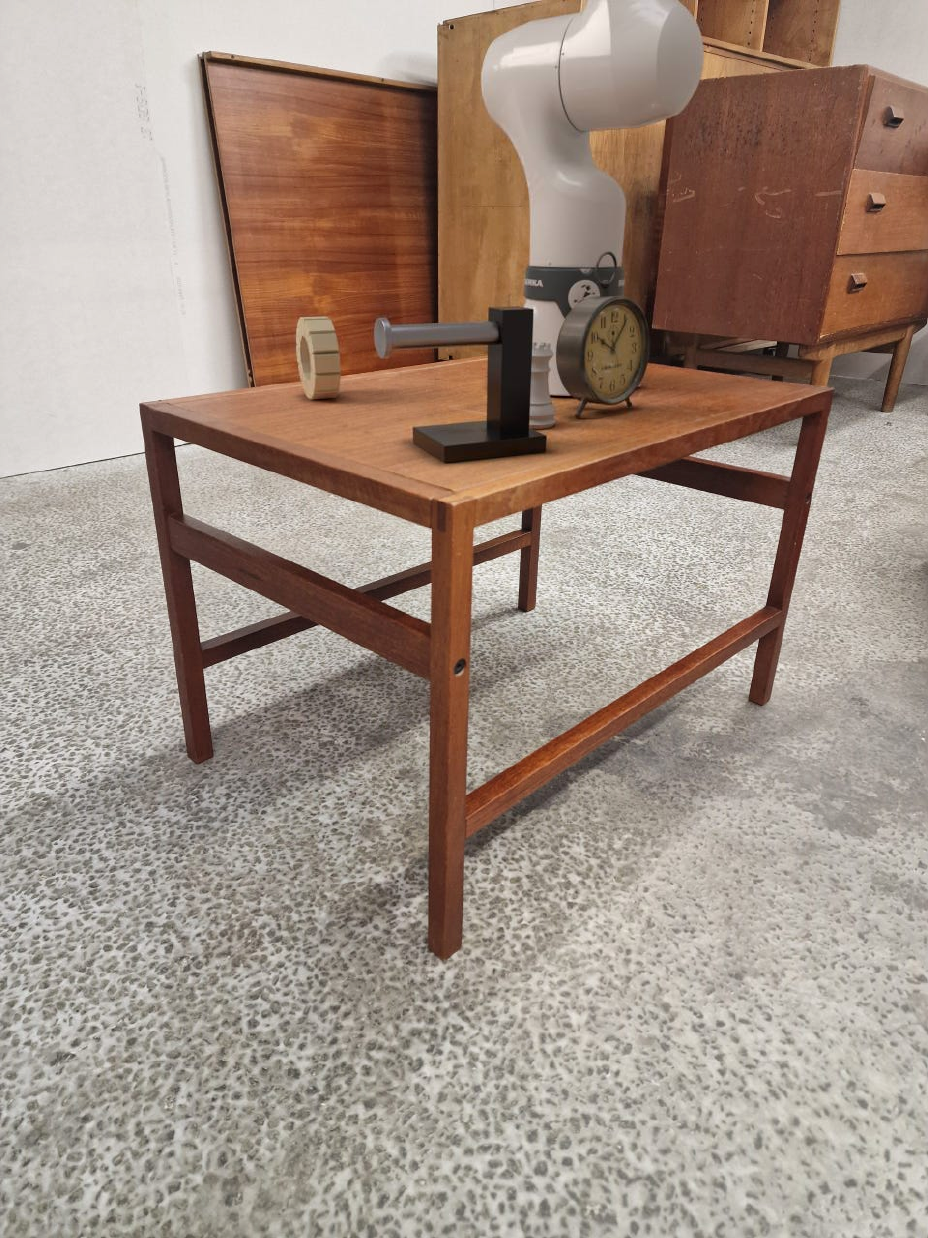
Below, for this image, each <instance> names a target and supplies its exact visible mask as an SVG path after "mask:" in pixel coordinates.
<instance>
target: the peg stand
mask: <svg viewBox="0 0 928 1238" xmlns="http://www.w3.org/2000/svg"><path fill="white" fill-rule="evenodd" d="M487 311H488V313H487V315H488V319H487V320H482V321H481V320H480V321H479V320H478V321H455V322H435V323H434V322H433V323H432V322H431V323H409V324H391V323H390V321H389V319H388V318H387V317H378V318H376V320H375V324H374V328H373V338H374V339H373V340H374V346H375V349H376V350H375V351H376V354H377V355H378V357H379V358H380V359H383V360H385V359H389V358H390V357H391V355H392V352H393V351H409V350H425V349H427V350H428V349H445V348H446V349H447V348H463V347H465V348H466V347H481V346H482V347H484V346H487V371H486V372H487V375H486V376H487V380H486V381H487V382H486V383H487V384H486V385H487V386H486V420H475V421H465V422H453V423H442V424H431V425H421V426H419V425H418V426H413V427H412V443H413V444H414V445H416V446H418V447H419V448H420V449H422V450H424V451H425V452H427V453H428V454H429V455H431V456H433V457H435V458H436V459H438V460H440V461H441V462H443V463H444V464H449V463H457V462H466V461H476V460H485V459H494V458H503V457H513V456H522V455H530V454H531V455H532V454H540V453H546V452H547V443H548V442H547V441H548V435H546V434H544V433H541V432H539V431H537V430H536V429H530V428H529V420H530V394H531V367H532V341H533V315H534V309H531V308H525V307H523V306H519V305H515V306H513V305H512V306H489V307H488V309H487Z"/></svg>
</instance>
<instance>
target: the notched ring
mask: <svg viewBox="0 0 928 1238" xmlns="http://www.w3.org/2000/svg"><path fill="white" fill-rule="evenodd" d="M295 330H296V331H295V344H296V345H295V351H296V362H297V364H298V365H297V369H298V374H299V379H300V382H301V386H302V389H303V392H304V395H306V396H305V397H306V398H308V399H309V400H310V401H311V400H325V399H326V400H327V399H336V398H337V396H338V394H339V393H340V388H341V379H342V375H341V373H342V367H341V366H342V365H341V354H340V346H339V341H338V336H337V333H336V329H335V326H334V324H333V322H332V320H331V319H330V317H328V316H323V315H322V316H303V317H302V316H300V317H299V319H298V320H297V324H296V329H295Z"/></svg>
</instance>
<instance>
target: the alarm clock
mask: <svg viewBox="0 0 928 1238" xmlns="http://www.w3.org/2000/svg"><path fill="white" fill-rule="evenodd" d="M606 254H609V255H610V256H611V257H612V259H613V262H614V272H613V276H612V278H611V279H610V281H608V280H603V281H600V280H599V277H598V267H599V263H600V261H601V259H602V257H603V256H604V255H606ZM616 270H617V261H616V257H615V255H614V254H613V253H612V252H611V251H605V252H603V253H602V254H601V255H600V256H599V258H598V260H597V263H596V267H595V276H596V279H597V281H598V283H599V284H600V286H601V293H600V296H595V297H590V298H587V299H584V300H583V301H581V302H579V303H578V304H577V305H576V306H575V307H574V308H573V309H572V310H571V311H570V312H569V314H568V315H567V316H566V318H565V320H564V322H563V324H562V326H561V329H560V332H559V335H558V340H557V345H556V365H557V370H558V374H559V377H560V380H561V382H562V384H563V386H564V388H565V389H566V390H567V392H568V393H569V394H570V395H571V397H572V398H573V399H575V400H576V401H578V402H579V404H578V407H577V411H576V412H575V413H574V417H575V419H580V418H581V416H582V414H581V413H583V411H584V410H585V408H586V406H587V404H588V403H589V404H595V405H604V406H609V407H610V406H616V405H620V404H621V403H622V404H623V402H625V403H626V406H627V407H628V408H632V407H633V402H632V401H631V399H630V397H631V396H633V394H634V392H636V390H637V389H638V386H639V384H640V382H641V383H642V380H643V379H644V377H645V373H646V371H647V367H648V365H649V364H648V363H649V359H650V351H651V336H650V329H649V325H648V321H647V318H646V316H645V313H644V312H643V310H642V308H641V307H640V305H639V304H638V303H637V302H636V301H634V300H633V299H631V298H630V297H628V296H624V295H623V296H609V289H608V287H609V285H610V283H611V282H612V281H613V280H614V278H615V275H616ZM639 387H640V386H639Z"/></svg>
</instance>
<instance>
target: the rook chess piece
mask: <svg viewBox="0 0 928 1238" xmlns="http://www.w3.org/2000/svg"><path fill="white" fill-rule="evenodd" d="M550 345H551V344H550V343H545V342H541V343H540V345H539V346H537V342H532V367H531V394H530V420H529V428H530V429H533V430H543V429H549V428H552V427H554V425H555V424H556V422H557V419H556V418H555V417H554V416H555V414H556V413H557V410H556V409H557V408H556V407H555V406H554V404H553V400H552V399H551V395H550V393H549V382H548V376H549V372H550V370H551V369H550V368H549V360H550V359H551V358H552V356H553V355H554V353H553V352H552V350H551V349H550Z"/></svg>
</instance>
